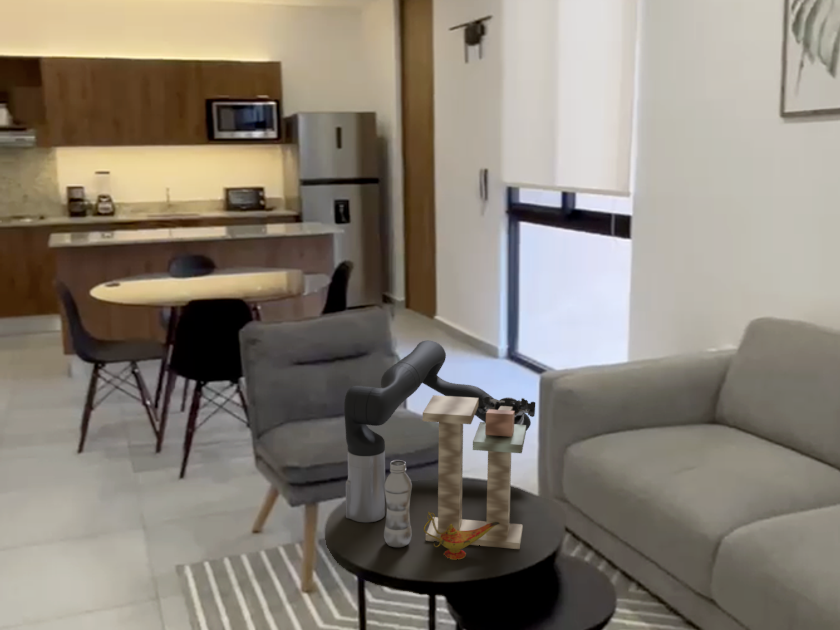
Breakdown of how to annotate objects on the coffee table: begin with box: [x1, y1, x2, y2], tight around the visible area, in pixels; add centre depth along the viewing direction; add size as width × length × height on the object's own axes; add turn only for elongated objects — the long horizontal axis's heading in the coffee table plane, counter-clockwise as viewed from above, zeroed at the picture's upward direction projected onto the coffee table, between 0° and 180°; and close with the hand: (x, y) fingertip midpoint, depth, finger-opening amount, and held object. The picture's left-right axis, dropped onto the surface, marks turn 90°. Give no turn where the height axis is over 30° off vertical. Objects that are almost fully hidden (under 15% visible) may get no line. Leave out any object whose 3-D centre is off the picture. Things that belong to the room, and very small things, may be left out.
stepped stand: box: [422, 394, 527, 550], centre depth 200 cm, size 22×14×32 cm, turn 79°
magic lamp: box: [423, 511, 500, 561], centre depth 193 cm, size 7×18×11 cm, turn 103°
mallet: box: [485, 406, 515, 437], centre depth 203 cm, size 6×22×5 cm, turn 169°
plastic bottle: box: [383, 459, 413, 548], centre depth 196 cm, size 6×7×20 cm
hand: (504, 400), depth 206 cm, fingers open, 8 cm apart
